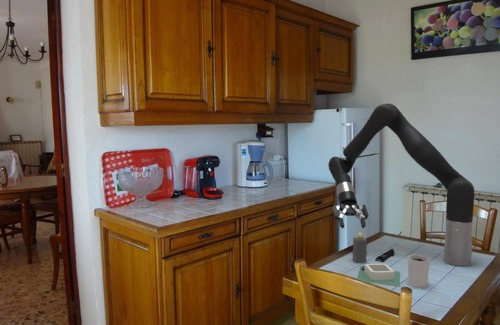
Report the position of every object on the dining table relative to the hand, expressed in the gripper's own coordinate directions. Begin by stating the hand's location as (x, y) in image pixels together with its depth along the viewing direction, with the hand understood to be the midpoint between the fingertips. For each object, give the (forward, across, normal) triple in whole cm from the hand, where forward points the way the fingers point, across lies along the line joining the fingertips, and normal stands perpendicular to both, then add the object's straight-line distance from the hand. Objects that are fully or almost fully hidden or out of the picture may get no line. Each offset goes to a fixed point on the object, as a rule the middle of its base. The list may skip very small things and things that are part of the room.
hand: (353, 227), depth 160 cm
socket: (+25, +2, -9) cm, 26 cm away
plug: (+15, 0, +3) cm, 15 cm away
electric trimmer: (+12, +12, +6) cm, 18 cm away
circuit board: (+25, +2, -8) cm, 27 cm away
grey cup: (+30, +13, -13) cm, 35 cm away
